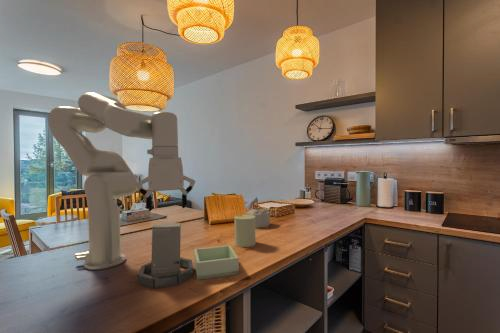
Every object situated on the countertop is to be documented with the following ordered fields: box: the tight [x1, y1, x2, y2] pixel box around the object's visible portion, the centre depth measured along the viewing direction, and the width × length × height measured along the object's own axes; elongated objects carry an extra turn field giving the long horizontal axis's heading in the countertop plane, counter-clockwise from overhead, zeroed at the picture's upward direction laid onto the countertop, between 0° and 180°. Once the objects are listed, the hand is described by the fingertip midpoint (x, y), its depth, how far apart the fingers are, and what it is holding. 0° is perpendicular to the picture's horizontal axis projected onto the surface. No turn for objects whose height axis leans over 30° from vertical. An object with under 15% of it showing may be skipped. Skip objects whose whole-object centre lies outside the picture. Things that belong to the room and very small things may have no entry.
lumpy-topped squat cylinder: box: [245, 208, 271, 229], centre depth 137 cm, size 10×13×9 cm
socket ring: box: [137, 256, 194, 289], centre depth 76 cm, size 15×15×2 cm
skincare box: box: [150, 222, 182, 277], centre depth 76 cm, size 8×7×16 cm
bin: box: [193, 244, 240, 281], centre depth 80 cm, size 13×13×5 cm
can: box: [233, 214, 257, 248], centre depth 105 cm, size 9×9×12 cm
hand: (167, 208), depth 76 cm, fingers open, 9 cm apart
